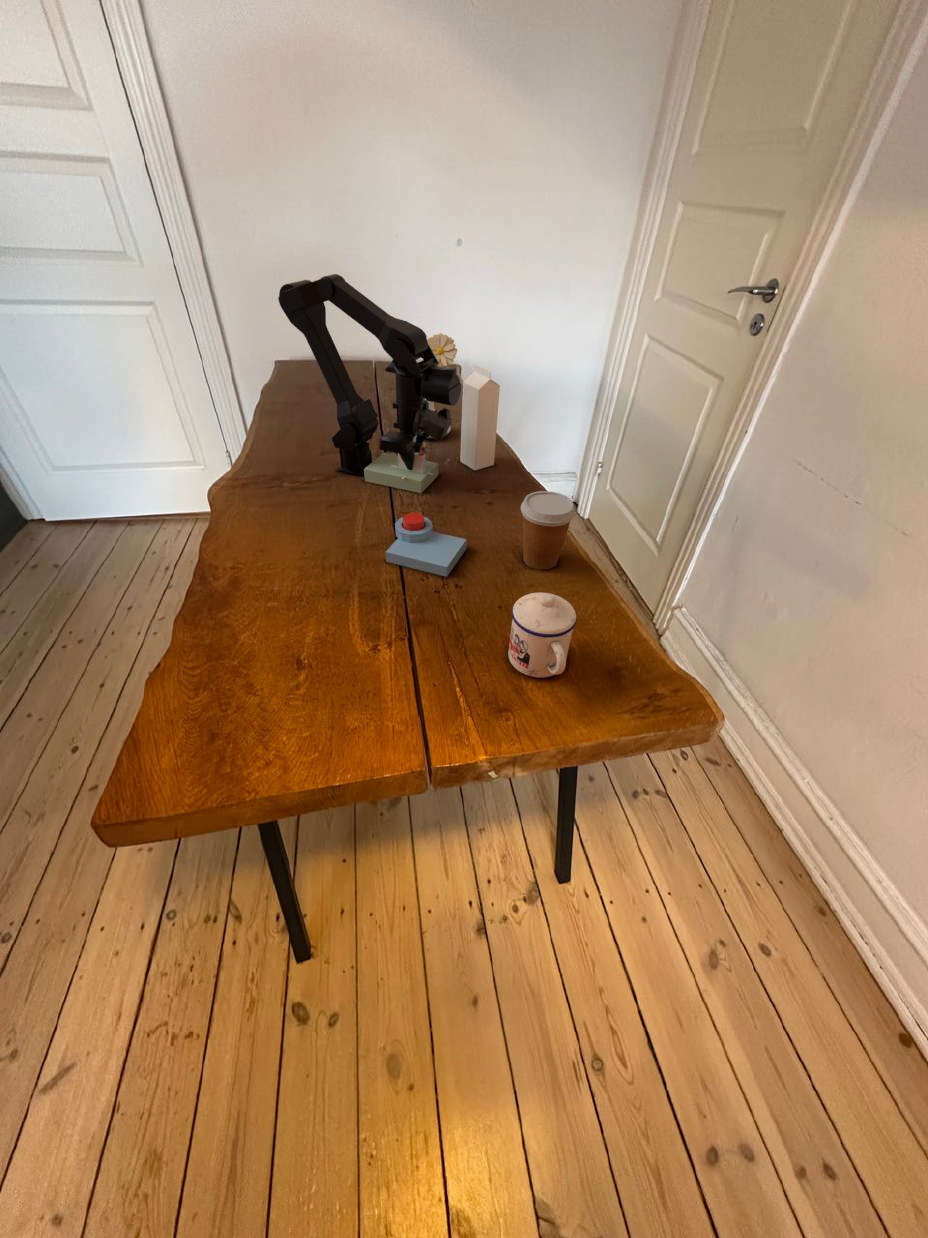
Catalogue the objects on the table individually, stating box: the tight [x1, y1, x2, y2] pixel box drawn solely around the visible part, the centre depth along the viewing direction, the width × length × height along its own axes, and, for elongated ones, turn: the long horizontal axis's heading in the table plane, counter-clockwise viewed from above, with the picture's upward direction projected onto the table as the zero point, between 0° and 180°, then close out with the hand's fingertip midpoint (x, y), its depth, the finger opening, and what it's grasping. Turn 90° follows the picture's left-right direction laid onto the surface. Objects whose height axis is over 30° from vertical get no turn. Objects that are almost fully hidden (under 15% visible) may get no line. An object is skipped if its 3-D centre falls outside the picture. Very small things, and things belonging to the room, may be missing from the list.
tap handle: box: [397, 452, 426, 474], centre depth 121 cm, size 6×2×4 cm, turn 69°
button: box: [402, 512, 425, 531], centre depth 103 cm, size 4×4×2 cm
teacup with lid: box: [507, 592, 578, 678], centre depth 77 cm, size 12×9×12 cm
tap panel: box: [363, 452, 440, 494], centre depth 125 cm, size 15×11×3 cm
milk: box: [459, 364, 501, 471], centre depth 127 cm, size 6×6×22 cm
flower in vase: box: [424, 332, 458, 439], centre depth 139 cm, size 13×11×25 cm
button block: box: [385, 516, 468, 577], centre depth 102 cm, size 13×12×4 cm
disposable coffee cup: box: [520, 490, 576, 571], centre depth 99 cm, size 10×10×12 cm
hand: (411, 468), depth 123 cm, fingers closed on tap handle, 2 cm apart
